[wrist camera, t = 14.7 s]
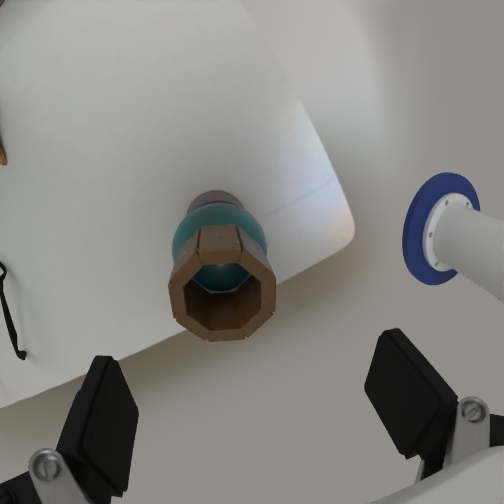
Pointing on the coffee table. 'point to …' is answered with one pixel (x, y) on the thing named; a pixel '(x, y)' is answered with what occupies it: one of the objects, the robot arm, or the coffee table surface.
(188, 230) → the ball stand
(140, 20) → the coffee table surface
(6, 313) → the glasses
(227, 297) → the bronze ring
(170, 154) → the coffee table surface
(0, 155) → the decorative sculpture
